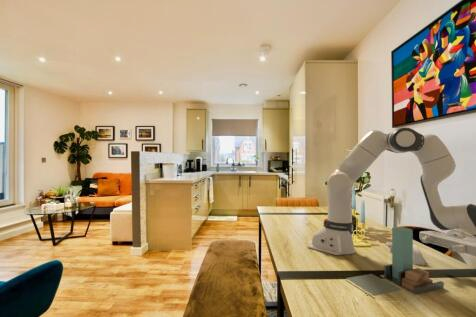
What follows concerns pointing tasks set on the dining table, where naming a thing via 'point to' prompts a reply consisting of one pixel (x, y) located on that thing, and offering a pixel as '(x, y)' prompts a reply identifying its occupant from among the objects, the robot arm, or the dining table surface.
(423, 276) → the upper walnut offcut
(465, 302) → the dining table surface
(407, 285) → the lower walnut offcut
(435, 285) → the rack
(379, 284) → the rubber mat
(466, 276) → the dining table surface
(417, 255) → the spoon rest
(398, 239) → the teal rectangular block
